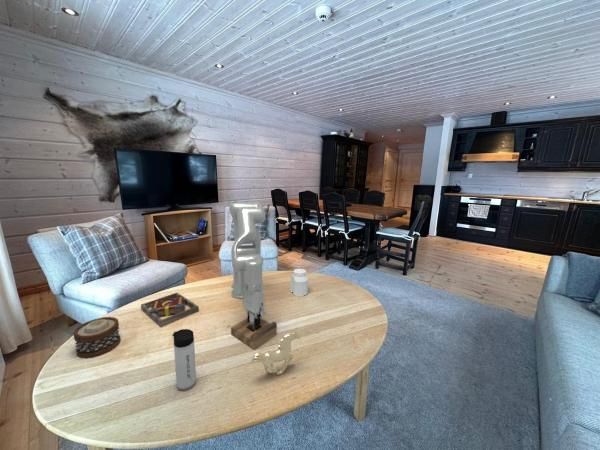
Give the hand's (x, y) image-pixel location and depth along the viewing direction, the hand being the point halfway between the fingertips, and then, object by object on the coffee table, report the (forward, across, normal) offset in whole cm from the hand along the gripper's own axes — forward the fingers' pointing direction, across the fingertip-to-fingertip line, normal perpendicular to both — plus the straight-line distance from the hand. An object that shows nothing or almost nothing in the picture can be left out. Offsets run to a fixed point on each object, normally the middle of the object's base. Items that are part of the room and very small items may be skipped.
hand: (253, 322), depth 113 cm
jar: (+6, -11, +48) cm, 50 cm away
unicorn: (+7, +24, -10) cm, 27 cm away
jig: (+6, 0, 0) cm, 6 cm away
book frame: (+6, -50, -16) cm, 53 cm away
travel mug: (+7, +3, -34) cm, 35 cm away
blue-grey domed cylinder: (+2, 0, 0) cm, 2 cm away
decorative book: (+6, -50, -16) cm, 53 cm away
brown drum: (+6, -43, -48) cm, 65 cm away
